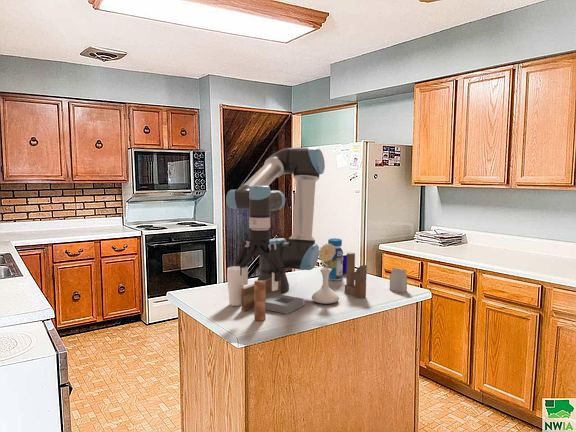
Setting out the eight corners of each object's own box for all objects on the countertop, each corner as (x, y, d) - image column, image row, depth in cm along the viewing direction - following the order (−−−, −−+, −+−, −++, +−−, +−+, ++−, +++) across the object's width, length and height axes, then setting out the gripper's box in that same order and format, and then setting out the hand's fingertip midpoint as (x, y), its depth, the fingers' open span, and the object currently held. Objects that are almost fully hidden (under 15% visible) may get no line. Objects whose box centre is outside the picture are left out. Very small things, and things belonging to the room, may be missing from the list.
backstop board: (241, 310, 173) (241, 287, 172) (276, 296, 193) (276, 275, 192) (245, 311, 171) (245, 288, 171) (280, 297, 191) (280, 276, 190)
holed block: (255, 307, 176) (254, 299, 176) (272, 299, 186) (272, 292, 186) (286, 314, 168) (286, 306, 168) (303, 306, 178) (303, 298, 178)
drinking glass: (228, 301, 184) (228, 266, 182) (245, 302, 184) (245, 266, 182) (226, 306, 177) (225, 269, 176) (243, 307, 177) (242, 270, 176)
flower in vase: (306, 299, 187) (307, 241, 185) (330, 296, 192) (331, 239, 189) (321, 308, 176) (322, 245, 173) (346, 305, 180) (347, 244, 178)
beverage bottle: (324, 276, 228) (325, 238, 226) (340, 276, 229) (341, 237, 227) (327, 280, 219) (328, 240, 217) (344, 280, 220) (345, 240, 218)
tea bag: (401, 292, 199) (402, 270, 198) (389, 289, 205) (390, 267, 204) (406, 291, 201) (407, 269, 200) (394, 288, 207) (395, 266, 206)
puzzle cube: (332, 275, 232) (332, 256, 231) (323, 271, 241) (323, 253, 240) (348, 273, 236) (349, 254, 235) (339, 269, 245) (339, 251, 244)
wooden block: (359, 298, 190) (360, 256, 188) (344, 292, 199) (344, 252, 197) (366, 297, 191) (367, 256, 190) (350, 291, 201) (351, 252, 199)
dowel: (252, 319, 162) (252, 282, 161) (258, 316, 165) (258, 279, 164) (261, 321, 160) (260, 283, 159) (267, 318, 163) (267, 281, 162)
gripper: (226, 227, 163) (226, 284, 165) (282, 232, 149) (282, 294, 151) (239, 225, 169) (239, 280, 171) (294, 230, 156) (294, 290, 157)
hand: (259, 287), depth 161 cm, fingers open, 13 cm apart
